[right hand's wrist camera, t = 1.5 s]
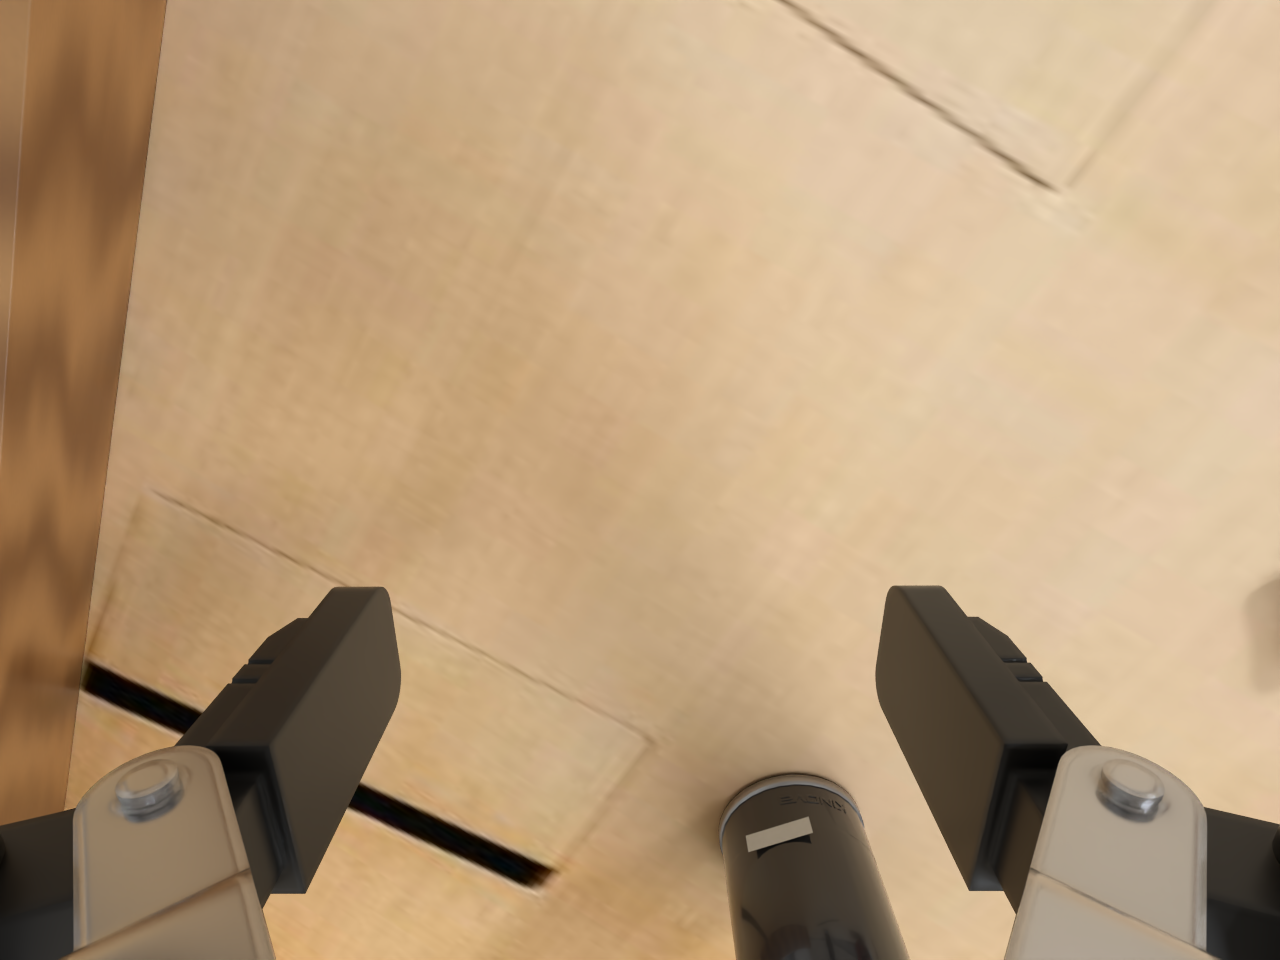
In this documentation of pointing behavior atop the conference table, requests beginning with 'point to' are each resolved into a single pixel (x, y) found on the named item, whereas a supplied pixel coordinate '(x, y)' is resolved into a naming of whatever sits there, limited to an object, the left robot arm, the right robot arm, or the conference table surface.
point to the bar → (61, 347)
